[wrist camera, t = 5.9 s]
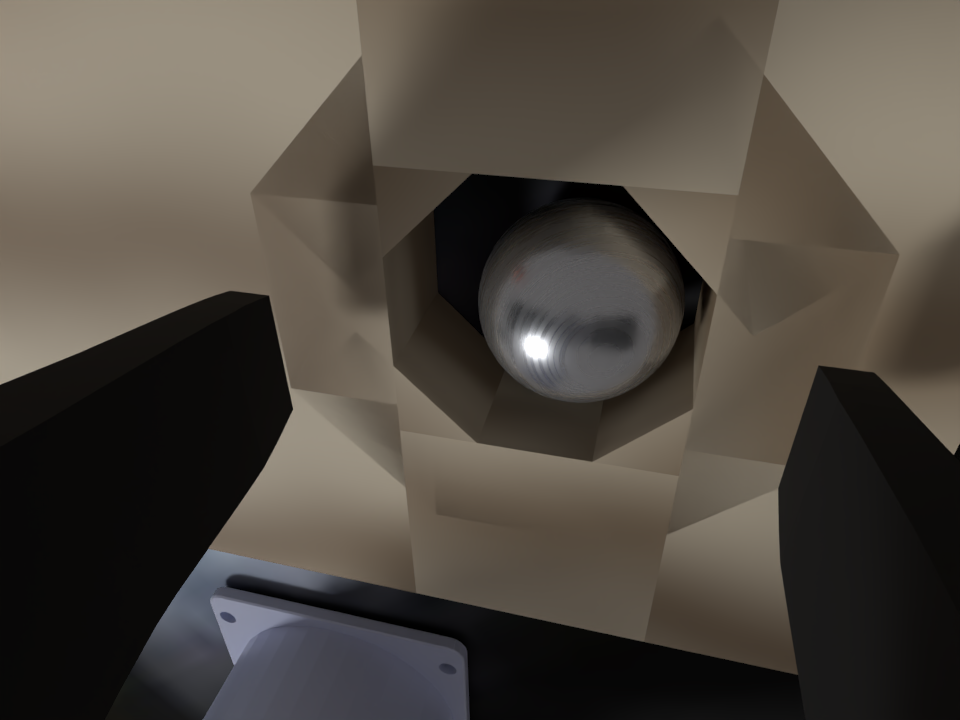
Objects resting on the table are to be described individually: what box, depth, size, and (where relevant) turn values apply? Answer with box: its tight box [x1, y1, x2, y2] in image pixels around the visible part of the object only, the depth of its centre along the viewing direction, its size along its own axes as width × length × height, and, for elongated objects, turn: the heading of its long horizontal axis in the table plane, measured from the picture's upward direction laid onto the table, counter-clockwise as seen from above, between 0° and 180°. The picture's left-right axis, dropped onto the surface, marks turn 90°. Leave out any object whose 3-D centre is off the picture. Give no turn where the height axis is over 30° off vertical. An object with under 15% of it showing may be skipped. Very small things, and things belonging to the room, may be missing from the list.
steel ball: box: [478, 198, 685, 403], centre depth 11 cm, size 3×3×3 cm
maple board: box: [0, 0, 960, 675], centre depth 12 cm, size 14×20×2 cm
